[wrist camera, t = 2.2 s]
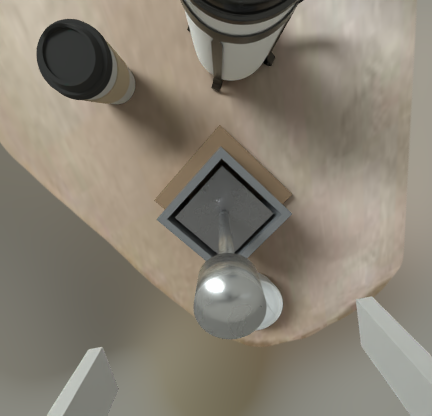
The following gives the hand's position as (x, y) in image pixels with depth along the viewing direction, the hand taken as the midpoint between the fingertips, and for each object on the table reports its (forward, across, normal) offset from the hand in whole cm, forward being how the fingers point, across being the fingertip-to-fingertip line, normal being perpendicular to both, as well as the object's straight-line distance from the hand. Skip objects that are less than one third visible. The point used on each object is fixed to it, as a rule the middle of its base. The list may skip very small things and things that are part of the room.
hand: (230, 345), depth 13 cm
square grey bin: (+37, 0, +1) cm, 37 cm away
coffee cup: (+37, -14, +24) cm, 46 cm away
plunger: (+24, 0, +1) cm, 24 cm away
